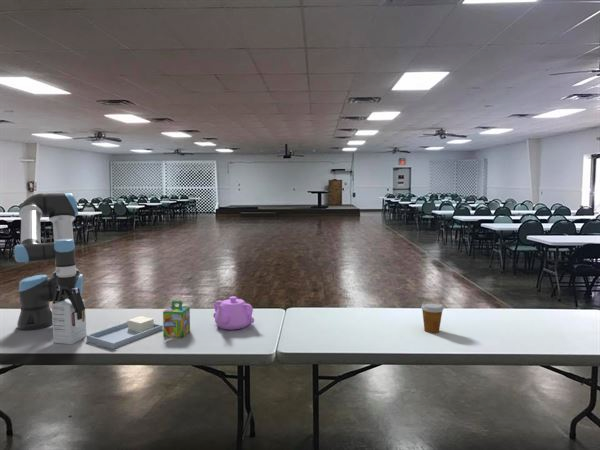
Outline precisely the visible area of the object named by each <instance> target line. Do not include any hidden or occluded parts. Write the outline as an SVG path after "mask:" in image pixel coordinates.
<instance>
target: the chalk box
mask: <svg viewBox="0 0 600 450" xmlns="http://www.w3.org/2000/svg"><path fill="white" fill-rule="evenodd" d="M176 304H178V305H176ZM190 308H191V307H190V306H183V301H182V300H172V301H171V306H169V307H167V308H166V309H165V310H163V311H162V312H163V313H162V319H163V320H162V325H163V330H162V331H163V332H162V333H163V335H162V336H163V337H172V338H180V339H182V338H184V337H185V336H187V335H188V334H189V332H190V331H191V314H190V313H191V309H190Z"/></svg>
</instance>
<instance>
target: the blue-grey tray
mask: <svg viewBox="0 0 600 450" xmlns="http://www.w3.org/2000/svg"><path fill="white" fill-rule="evenodd" d="M161 331H163V324H159V323H155V322H154V328H152V329H150V330H147V331H144V332H141V333H139V332H135V331H131V330H128V321H125V322H122V323H119V324H117V325H114V326H111V327H107V328H103V329H102V330H99V331H95V332H93V333H90V334H87V335H86V336H85V337H86V342H87V343H88V342H89V343H91V344H94V345H98V346H100V347H104V348H107V349H111V350H116V349H117V348H119V347H122V346H124V345H126V344H128V343H131V342H134V341H137V340H139V339H142V338H145V337H147V336H149V335H152V334H154V333H157V332H161Z"/></svg>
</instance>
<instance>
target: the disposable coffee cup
mask: <svg viewBox="0 0 600 450" xmlns="http://www.w3.org/2000/svg"><path fill="white" fill-rule="evenodd" d="M420 308H421V310H422V311H421V312H422V319H423V329H424V332H425V333H430V334H438V333H439V332H440V329H441V323H442V322H441V321H442V316H443V311H444V307H443V304H441V303H439V302H435V301H434V302H432V301H426V302H423V303H422V304H421V307H420Z"/></svg>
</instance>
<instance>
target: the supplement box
mask: <svg viewBox="0 0 600 450" xmlns="http://www.w3.org/2000/svg"><path fill="white" fill-rule="evenodd" d="M82 301H83V303H84V306H85V307H86V301H85V299H82ZM56 302H57V301H56ZM50 306H51V307H50V308H51V311H52V323H53V324H52V335H53V339H52V340H53V343H55V344H67V345H73V344H75V343H77V342H79V341H81V340H83V339H84V338H85V337H86V335H88V334H87V320H86V317H87V316H86V309H85V310H83V311H82V326H80V327H77V328H75V315H74V312H75V309H74V307H73V305H72V303H71V301H70V300H69V299H65V300H63V301H60V302H57V303H54V304H52V303H51V305H50Z"/></svg>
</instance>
